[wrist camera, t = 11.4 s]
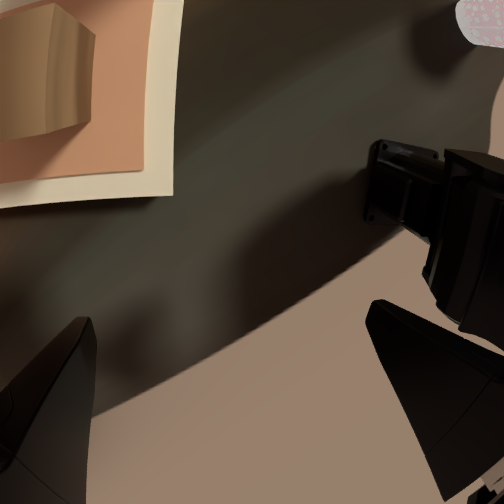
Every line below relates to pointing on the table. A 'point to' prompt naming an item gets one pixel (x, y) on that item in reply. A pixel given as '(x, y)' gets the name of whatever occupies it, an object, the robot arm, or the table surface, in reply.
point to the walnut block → (44, 72)
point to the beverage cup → (482, 21)
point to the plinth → (106, 111)
